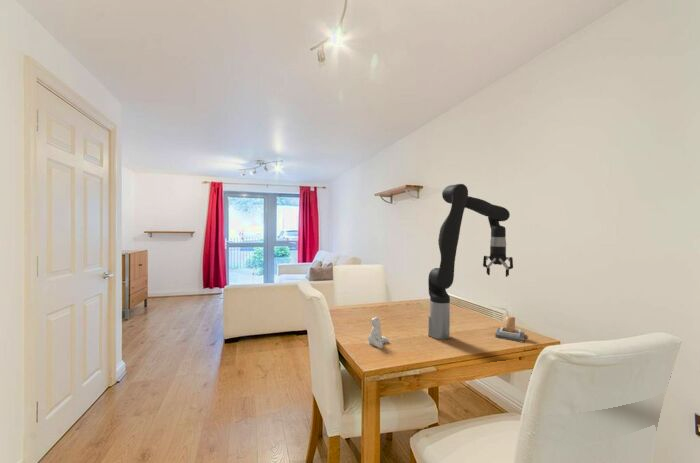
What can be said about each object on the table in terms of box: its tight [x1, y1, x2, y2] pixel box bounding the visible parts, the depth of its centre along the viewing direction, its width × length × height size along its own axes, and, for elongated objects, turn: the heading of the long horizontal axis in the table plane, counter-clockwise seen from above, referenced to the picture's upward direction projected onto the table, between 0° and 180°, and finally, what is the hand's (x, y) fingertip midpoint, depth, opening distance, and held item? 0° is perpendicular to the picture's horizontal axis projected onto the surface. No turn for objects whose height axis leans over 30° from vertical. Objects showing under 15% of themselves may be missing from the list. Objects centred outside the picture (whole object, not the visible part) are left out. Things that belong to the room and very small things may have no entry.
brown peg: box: [505, 315, 516, 333], centre depth 146 cm, size 4×4×8 cm
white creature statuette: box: [367, 316, 389, 349], centre depth 134 cm, size 10×9×12 cm
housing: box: [495, 326, 526, 343], centre depth 146 cm, size 12×12×3 cm
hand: (497, 275), depth 157 cm, fingers open, 8 cm apart
